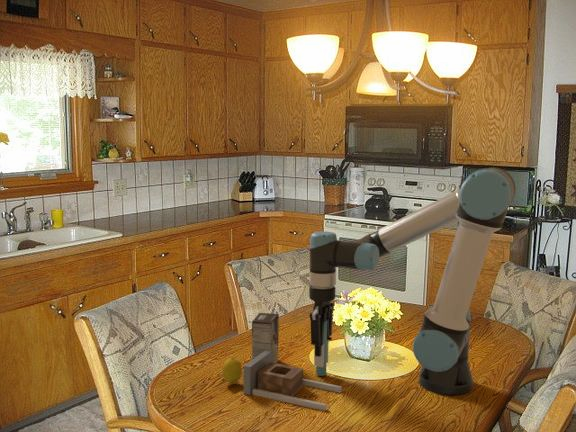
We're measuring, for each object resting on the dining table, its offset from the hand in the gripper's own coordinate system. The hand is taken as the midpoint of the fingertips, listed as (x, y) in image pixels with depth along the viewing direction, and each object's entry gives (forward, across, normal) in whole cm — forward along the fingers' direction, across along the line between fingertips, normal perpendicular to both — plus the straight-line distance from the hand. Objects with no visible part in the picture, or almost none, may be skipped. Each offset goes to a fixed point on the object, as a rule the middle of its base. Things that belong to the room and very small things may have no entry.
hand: (321, 363), depth 178 cm
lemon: (+5, +15, -21) cm, 27 cm away
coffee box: (+5, 0, -18) cm, 19 cm away
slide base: (+5, +14, -2) cm, 15 cm away
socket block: (+4, +14, -7) cm, 16 cm away
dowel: (+3, 0, 0) cm, 3 cm away
